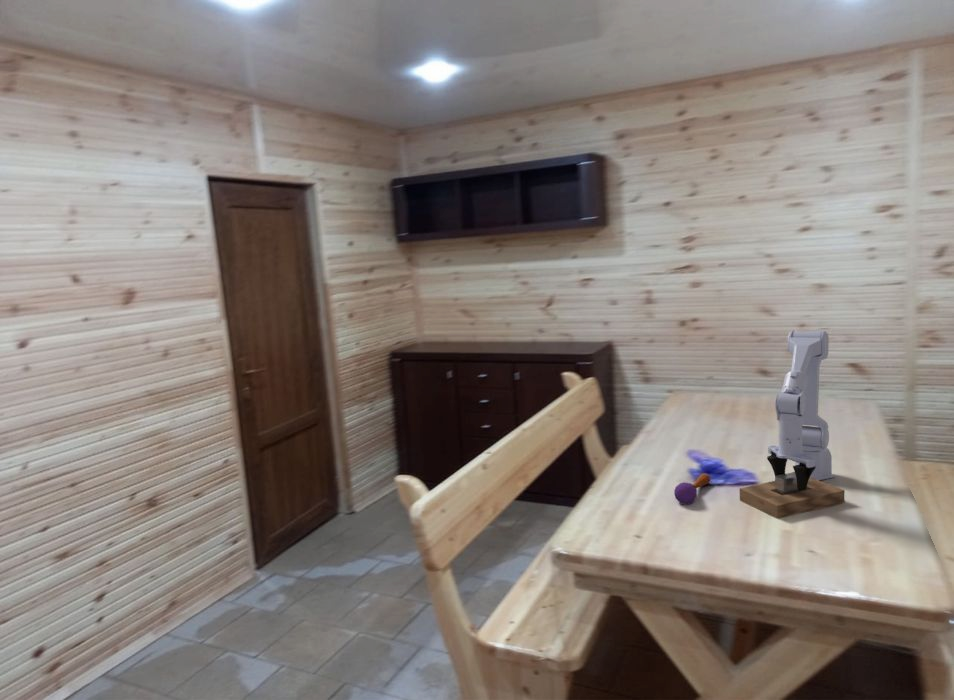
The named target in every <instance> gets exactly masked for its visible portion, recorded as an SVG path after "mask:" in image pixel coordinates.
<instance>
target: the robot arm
mask: <svg viewBox="0 0 954 700" xmlns="http://www.w3.org/2000/svg"><path fill="white" fill-rule="evenodd" d="M829 341H830V339H829V334H828V332H827V331H826V330H822V331H817V330H816V331H815V330H814V331H811V330H807V331H806V330H803V331H802V330H801V331H800V330H790V332H789V333H788V336H787V349H788V350H789V353H790V354H791V355H792V361H791V369H790V371H788V372H787V373H786V374H785V376H784V378H783V379H784V380H783V383H782V387H781V392H780V394H777V395H776V397H775V402H774V403H775V405H774V406H775V412H776V421H778V446H777V445H770V446H767V453H768V454H770V455H768V456H767V458H766V460H767V461H768V462H769V465H771V468H772V471H773V473H774V477H775V476H778V475H782V474H786V466H787V462H788V460H790V461H792V462H795V463H794V464H795V465H792V469H793V470H794V471H793V472H795V474H796V479H797V489H798V490H799V491H802V490H806V487H807V483H808V480H809V478H810V477H811V478H813V479H816V480H819V481H823V480H827V479H831V478H834V477H835V475H833V474H832V469H833V468H832V467H833V466H832V465H833V464H832V463H833V462H832V460H833V459H832V453H831V451H830V449H829V448H828V446H829V442H830V432H829V424H828V422H827V421H826V420H825V419H823V417H821V416H819V391H820V390H819V389H820V388H819V387H820V367H821V362H822V361H824V360H826V359H828V355H829V343H830V342H829Z"/></svg>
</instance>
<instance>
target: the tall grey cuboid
mask: <svg viewBox="0 0 954 700" xmlns="http://www.w3.org/2000/svg"><path fill="white" fill-rule="evenodd" d="M774 481H775V492H776V493H778V494H780V495H786V494H791V493H795V492H800V491H799V490H798V489H797V479H796V474H795V471H793V472H788V473H787V472H786V473H785V474H782V475H778V476H775V475H774ZM806 490H807V487H806ZM802 491H804V490H802Z"/></svg>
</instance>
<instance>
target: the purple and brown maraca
mask: <svg viewBox="0 0 954 700" xmlns="http://www.w3.org/2000/svg"><path fill="white" fill-rule="evenodd" d="M710 479H711V476H710V475H709V474H708V473H706V472H705V473H701V474H700V475H699V476H698V477H697V479H696V480H695V481H694V483H691V482H690V483H689V482H680V483H679V484H677V485H676V486H675V489H673V490H674V491H673V493H674V496H675V499H676V501H677V502H679V503H681V504H682V505H691V504H692V503H694V502H695V500H696V499H697V491H698V489H699V488H700V487H704V486H706V485H708V484H710V483H709V481H710ZM711 480H712V479H711ZM710 482H711V481H710Z"/></svg>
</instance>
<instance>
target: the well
mask: <svg viewBox="0 0 954 700" xmlns="http://www.w3.org/2000/svg"><path fill="white" fill-rule="evenodd" d="M845 494H846V493H845V489H842V488H839V487H836V486H834V485H831V484H829V483H827V482H824V481H822V480H816V479H813V478H811V477H810V478H809V480H808V483H807V490H804V491H800V492H795V493H791V494H786V495H780V494H778V493H776V492H775V480H772V481H768V482H763V483H758V484H754V485H748V486H745V487H744V486H743V487H740V488H739V501H740V502H742V503H745V504H747V505H749V506H751V507H753V508H755V509H757V510H759V511H760V512H763V513H764V514H767V515H769V516H771V517H773V518H774V519H778V520H779V519H782V518H785V517H790V516H795V515H799V514H803V513H807V512H812V511H816V510H821V509H824V508H829V507H833V506H837V505H842V504H845Z"/></svg>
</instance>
